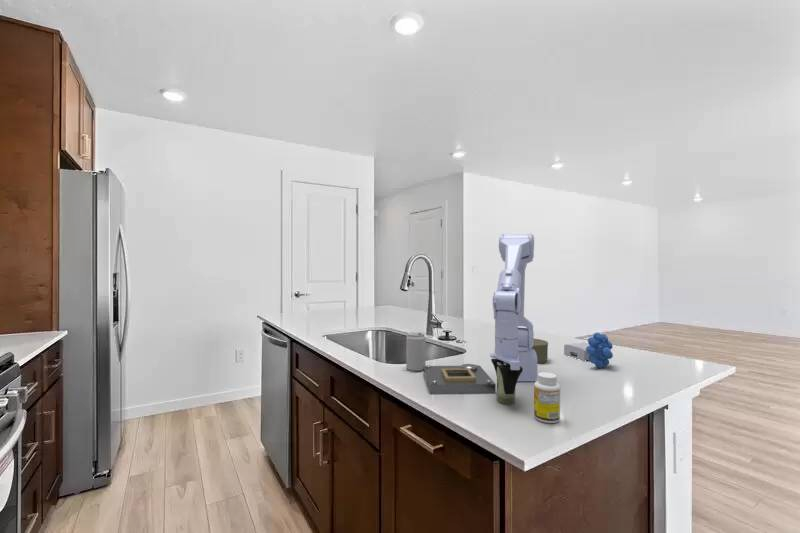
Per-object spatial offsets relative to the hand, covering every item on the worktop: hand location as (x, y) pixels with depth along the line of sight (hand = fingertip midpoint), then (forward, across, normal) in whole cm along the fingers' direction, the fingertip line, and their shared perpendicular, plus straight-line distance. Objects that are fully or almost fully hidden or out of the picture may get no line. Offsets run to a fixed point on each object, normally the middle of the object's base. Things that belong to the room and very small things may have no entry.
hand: (506, 390), depth 99 cm
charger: (+3, -43, +45) cm, 62 cm away
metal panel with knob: (+3, -15, -10) cm, 18 cm away
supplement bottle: (+3, +11, +6) cm, 13 cm away
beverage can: (+3, -29, -21) cm, 36 cm away
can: (+3, -39, +21) cm, 44 cm away
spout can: (+3, 0, 0) cm, 3 cm away
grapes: (+3, -28, +41) cm, 50 cm away
